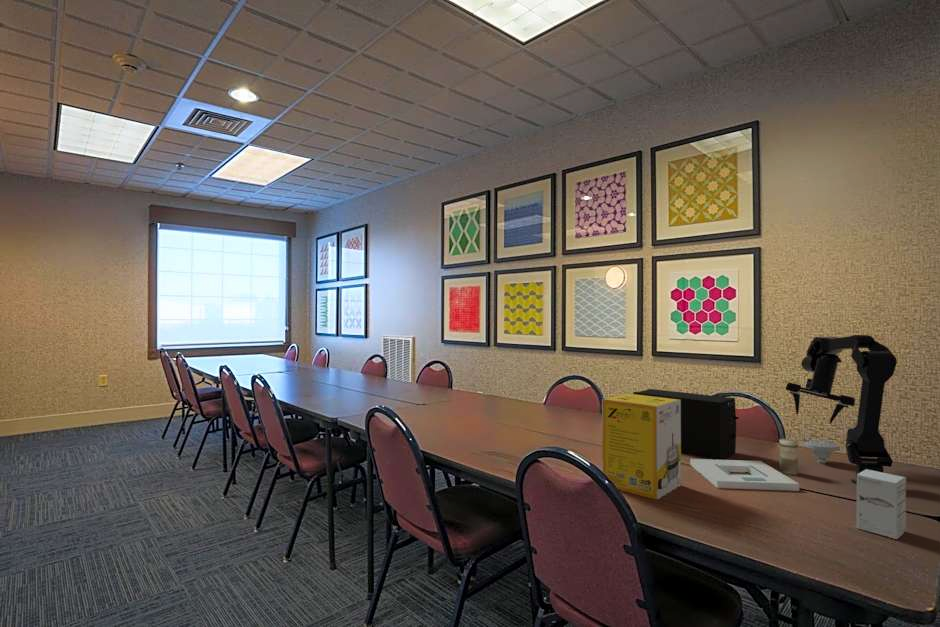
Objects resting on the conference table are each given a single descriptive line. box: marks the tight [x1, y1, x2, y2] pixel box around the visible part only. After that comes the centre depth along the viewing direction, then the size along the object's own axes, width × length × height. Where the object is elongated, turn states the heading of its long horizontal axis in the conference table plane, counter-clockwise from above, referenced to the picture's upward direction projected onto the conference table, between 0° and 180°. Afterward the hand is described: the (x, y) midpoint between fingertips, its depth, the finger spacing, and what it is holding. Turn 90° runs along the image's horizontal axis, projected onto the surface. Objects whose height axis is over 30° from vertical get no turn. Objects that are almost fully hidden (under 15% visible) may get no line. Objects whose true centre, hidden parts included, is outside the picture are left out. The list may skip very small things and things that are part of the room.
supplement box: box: [856, 469, 907, 540], centre depth 109 cm, size 7×7×13 cm
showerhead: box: [802, 438, 840, 464], centre depth 162 cm, size 9×7×10 cm
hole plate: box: [689, 458, 800, 492], centre depth 147 cm, size 22×22×2 cm
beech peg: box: [778, 438, 799, 476], centre depth 151 cm, size 5×5×10 cm
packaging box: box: [601, 393, 682, 501], centre depth 139 cm, size 16×16×25 cm
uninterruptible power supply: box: [632, 388, 740, 460], centre depth 179 cm, size 16×34×20 cm, turn 43°
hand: (813, 419), depth 161 cm, fingers open, 9 cm apart
